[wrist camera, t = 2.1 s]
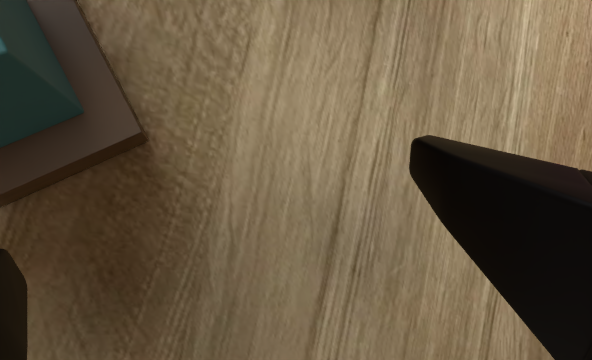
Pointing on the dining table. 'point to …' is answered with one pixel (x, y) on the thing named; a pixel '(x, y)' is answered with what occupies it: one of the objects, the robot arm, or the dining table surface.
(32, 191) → the walnut base block
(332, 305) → the dining table surface
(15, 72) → the teal toy block
